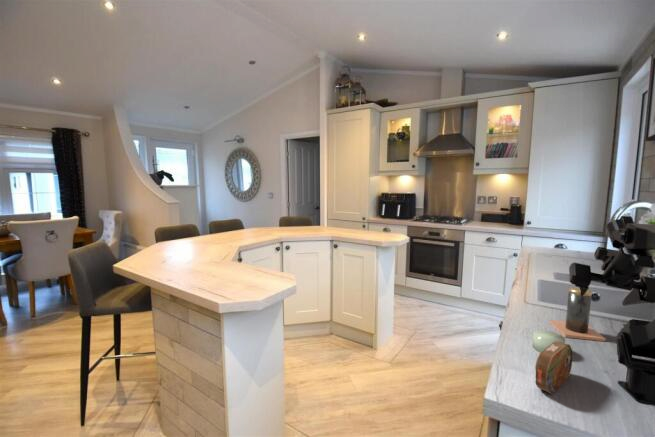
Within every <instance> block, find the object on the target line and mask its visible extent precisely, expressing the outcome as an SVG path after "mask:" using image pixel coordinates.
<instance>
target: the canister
mask: <svg viewBox="0 0 655 437" xmlns="http://www.w3.org/2000/svg"><path fill="white" fill-rule="evenodd" d="M567 293H568V296H567V305H566V306H567V307H566V317H565V322H566V325H565V327H566V328H567V329H568V330H570V331H573V332H577V333H588V326H590V325H589V324H590V316H591V305H592V297H593V296H592V294H593V291H592V290H590V289H588V290H587V291H586V293H585V294H584V295H583V296H581V295H580V288H579V287H577V286H570V287H568V292H567Z"/></svg>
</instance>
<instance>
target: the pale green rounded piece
mask: <svg viewBox="0 0 655 437" xmlns="http://www.w3.org/2000/svg"><path fill="white" fill-rule="evenodd" d="M532 336H533V337H532V348H533V349H534V350H535V351H537V352H538V353H539V354H540V353H541V352H542V351H544V350H545V349H546V348H547V347H549V346H550V345H551V344H552V343H554V342H560V343H564V344H566V337H564V336H563V335H562V334H560V333H556V332H554V331H551V330H546V329H536V330H534V331H533V335H532Z"/></svg>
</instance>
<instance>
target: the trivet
mask: <svg viewBox="0 0 655 437" xmlns="http://www.w3.org/2000/svg"><path fill="white" fill-rule="evenodd" d="M549 323H550V324H551V325H552V326H553V327H554V328H555V329H556V331H558V332H559V334H560V335H561V336H563V337H564V338H570V339H579V340H588V341H589V340H590V341H597V342H599V341H600V342H606V339H607V338H606V337H604V336H603V335H601V334H600V333H599V332H597V331H596V330H595V329H594V328H592V327H591V326H590V325H589V326H588V333H577V332H573V331H570V330H568V329H567V328H566V327H565V325H566V321H561V320H549Z"/></svg>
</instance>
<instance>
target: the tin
mask: <svg viewBox="0 0 655 437" xmlns="http://www.w3.org/2000/svg"><path fill="white" fill-rule="evenodd" d="M572 363H573V349H572V347H571V345H570V344H568V343H565V344H564V343H560V342H554V343H552V344H551V345H550V346H549V347H547V348H546V349H545V350H544V351H542V352H541V353H540V352H539V355H538V356H537V360H536V363H535V385H536V387H537V388H539V389H540V390H542V391H545V392H547V393H549V394H550V395H551V394H552V395H553V394H555V393H556V392H557V391H558V390H559V389H560V388H561V387H562V385H564V383H565V382H567V380H568V378H569V376H570V374H571V370H572Z"/></svg>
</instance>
